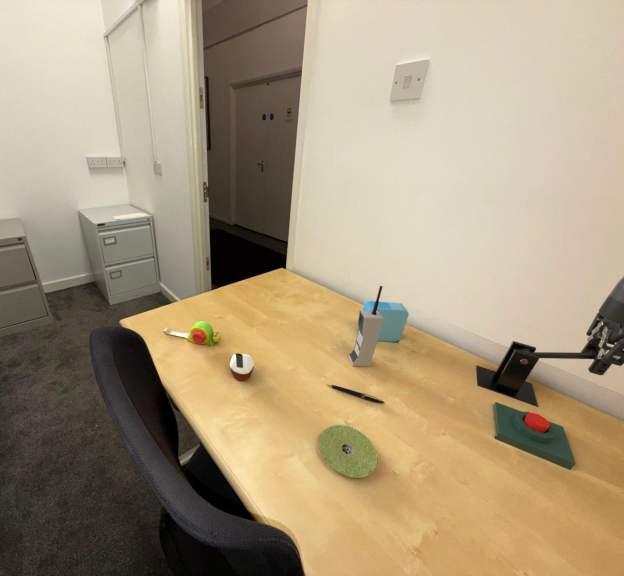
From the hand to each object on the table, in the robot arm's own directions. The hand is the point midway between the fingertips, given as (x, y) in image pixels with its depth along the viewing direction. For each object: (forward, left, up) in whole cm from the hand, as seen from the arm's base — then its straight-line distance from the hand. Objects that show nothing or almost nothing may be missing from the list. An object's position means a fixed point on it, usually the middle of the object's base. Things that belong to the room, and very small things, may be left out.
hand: (590, 364), depth 67 cm
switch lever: (+5, 0, -1) cm, 5 cm away
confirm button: (+8, +15, -10) cm, 20 cm away
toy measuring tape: (+92, +31, -14) cm, 98 cm away
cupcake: (+70, +36, -14) cm, 80 cm away
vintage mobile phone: (+45, +12, -14) cm, 48 cm away
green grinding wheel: (+40, +42, -14) cm, 60 cm away
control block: (+8, +15, -14) cm, 22 cm away
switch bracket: (+11, 0, -14) cm, 17 cm away
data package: (+43, -4, -14) cm, 45 cm away
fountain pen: (+43, +25, -14) cm, 52 cm away
